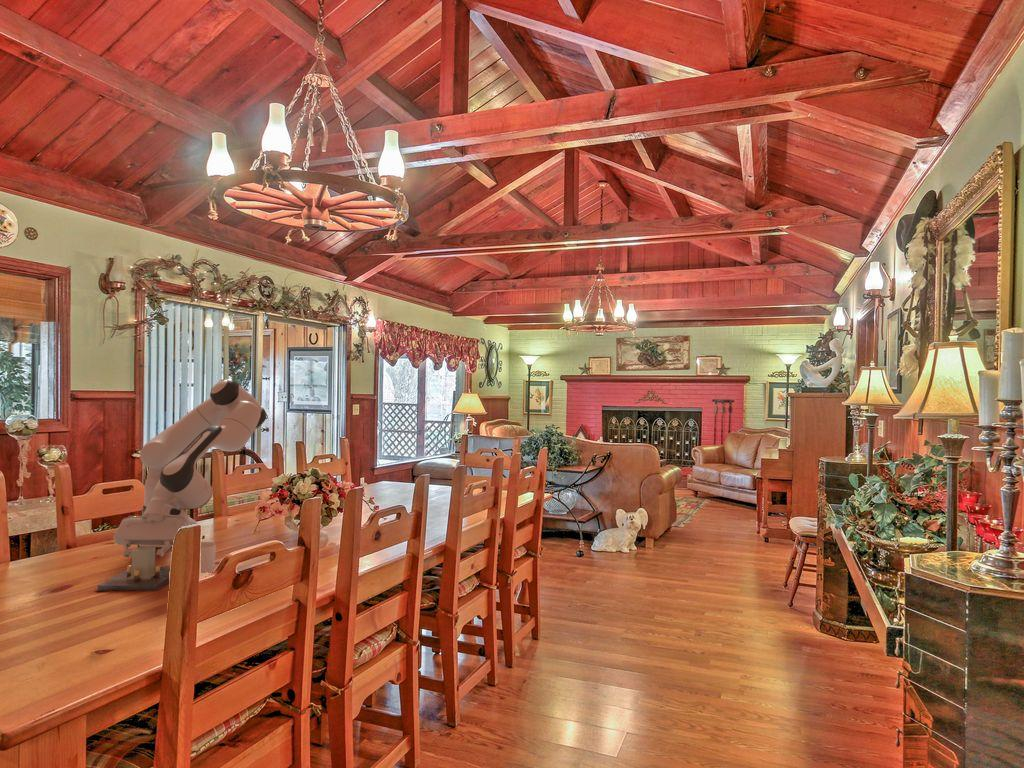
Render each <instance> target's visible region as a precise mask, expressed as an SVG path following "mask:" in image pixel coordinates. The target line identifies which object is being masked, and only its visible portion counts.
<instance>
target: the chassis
mask: <svg viewBox="0 0 1024 768" xmlns="http://www.w3.org/2000/svg"><path fill="white" fill-rule="evenodd" d="M170 567H171V566H161V565H160V564H155V566H154V574H152V575H151V576H149V577H147V578H139V576H140V569H135V570H134V578H131V571H132V564H129V565H128V564H127V565H126V569H125V570H123V571H121V572H119V573H118V574H115V575H114V576H112V577H111V578H108V579H107V580H105V581H104V582H102V583H100V584H98V585H97V592H103V591H104V592H111V591H110V590H114V591H115V590H116V591H115V592H121V591H120V590H124V591H123V592H125V590H143V592H151V591H153V592H155V591H156V592H157V591H158V590H160V589H162V588H163V587H164V586H166V585H167V584H168V583H170V582H169V571H170ZM106 590H107V591H106ZM108 590H109V591H108ZM147 590H148V591H147ZM114 591H113V592H114Z"/></svg>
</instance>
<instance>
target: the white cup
mask: <svg viewBox="0 0 1024 768" xmlns="http://www.w3.org/2000/svg"><path fill="white" fill-rule="evenodd" d="M200 542H201V573H206V572H208V573H212V572H213V573H214V568H215V561H216V559H215V558H216V546H217V545H216V544H217V543H215V542H213V541H200ZM209 575H210V574H209ZM205 577H206V576H205Z"/></svg>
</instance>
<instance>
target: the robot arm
mask: <svg viewBox="0 0 1024 768" xmlns="http://www.w3.org/2000/svg"><path fill="white" fill-rule="evenodd" d="M210 389H211V390H210V392H209V397H208V398H207V399H205V400H204V401H202V402H201V403H200V404H199V405H197V406H195V407H194V408H193V409H192V410H190V411H188V413H186V414H185V415H184V416H182V417H181V418H180V419H179V420H177V421H175V423H173V424H171V425H170V426H168V427H167V428H166V429H164V430H162V432H160V433H158V434H157V435H155V436H154V437H153V438H151V439H150V440H149V441H147V442H146V443H145V444H144V445H143V447H142V448H141V450H140V453H139V454H140V455H139V456H140V458H139V459H140V461H141V463H142V464H143V465H144V466H146V467H147V468H148V471H147V475H146V480H145V483H144V496H143V497H144V501H143V503H144V505H143V506H142V515H128V516H126V517H124V518H123V519H121V522H120V524H119V525H118V528H117V529H116V530H115V532H114V533H113V540H114V542H115V543H116V544H117V545H120V546H121V545H123V553H122V556H123V557H124V558H130V557H132V550H131V549H130V548H131V547H132V546H133V545H135V546H138V545H139V546H138V547H140V546H155V548H159V549H157V552H155V557H157V558H163V557H164V556H165V553H166V552H168V550H170V549H171V547H173V546H172V545H173V540H174V537H175V535H176V533H177V531H178V529H179V528H181V527H182V526H188V525H192V524H197V525H198V522H197V521H196V520H195V519H194V518H191V517H190V516H189V515H188V514H187V513H186V511H185V510H195V509H196V510H197V509H200V508H203V507H205V505H207V504H208V503H209V501H210V500H211V499H212V496H213V493H214V489H213V487H212V486H211V484H210V483H209V482H208V481H207V479H206V478H205V477H204V476H203V475H202V474H201V473H200V472H199V471H198V470H197V463H198V462H199V461H200V460H201V459H202V458H203V457H204V455H206V454H207V453H208V451H209V450H210V449H211V448H215V449H217V450H219V451H220V450H221V451H223V452H236V451H240V450H241V449H243V447H245V445H246V444H248V442H249V440H250V439H251V436H252V435H253V433H254V432H255V430H256V429H258V428H260V427H261V426H262V425H263V424H264V423H265V421H266V418H267V412H266V410H265V408H264V407H263V406H262V405H260V403H259V402H258V400H257V399H256V398H255V397H254V395H252V394H251V393H249V392H248V391H247V390H246V389H245V388H243V387H242V386H241V385H240V383H238V382H237V381H236V380H235V379H234V380H233V378H224V379H221V380H220V381H218V382H216V383H215V384H214V385H213V387H212V388H210ZM201 533H202V538H201V539H204V538H205V537H206V534H205V533H203V532H201ZM203 536H204V538H203Z"/></svg>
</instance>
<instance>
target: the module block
mask: <svg viewBox="0 0 1024 768" xmlns="http://www.w3.org/2000/svg"><path fill="white" fill-rule="evenodd" d="M131 552H132V553H131V565H132V571H131V578H134V570H135V569H140V576H139V578H147V577H149V576H151V575H152V574H154V566H156V547H155V546H138V547H136V548H134V549H132V550H131Z"/></svg>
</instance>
